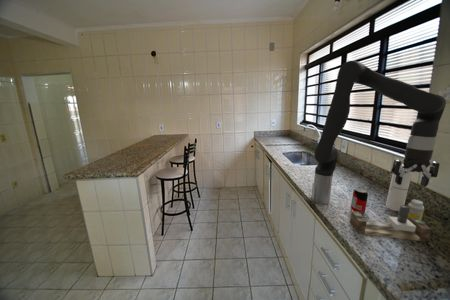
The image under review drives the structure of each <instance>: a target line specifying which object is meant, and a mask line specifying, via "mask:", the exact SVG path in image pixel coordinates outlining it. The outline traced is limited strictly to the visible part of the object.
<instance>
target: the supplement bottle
mask: <svg viewBox="0 0 450 300" xmlns="http://www.w3.org/2000/svg"><path fill="white" fill-rule="evenodd" d="M407 206H408V207H410V211H409V214H408V218H407V219H408V220H409V217H414V218H418V219H419V220H421V221H422V219H423V216H424V212H425V207H424V202H423V201H421V200H420V199H411V201H410V202H408V204H407Z"/></svg>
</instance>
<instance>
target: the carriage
mask: <svg viewBox="0 0 450 300" xmlns="http://www.w3.org/2000/svg"><path fill="white" fill-rule="evenodd" d="M409 211H410V207H408V205H405V204H404V205H401V206H400V210H399V211H398V215H397V216H390V215H389V216H387V221H386V222H388V224H391V226H392V227H393V228H394V229H396V230H404V231H412V232H415V229H416V226H415V225H414V224H413V223H411V222H410V221H409V220H408V219H407V218H408V214H409Z"/></svg>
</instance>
